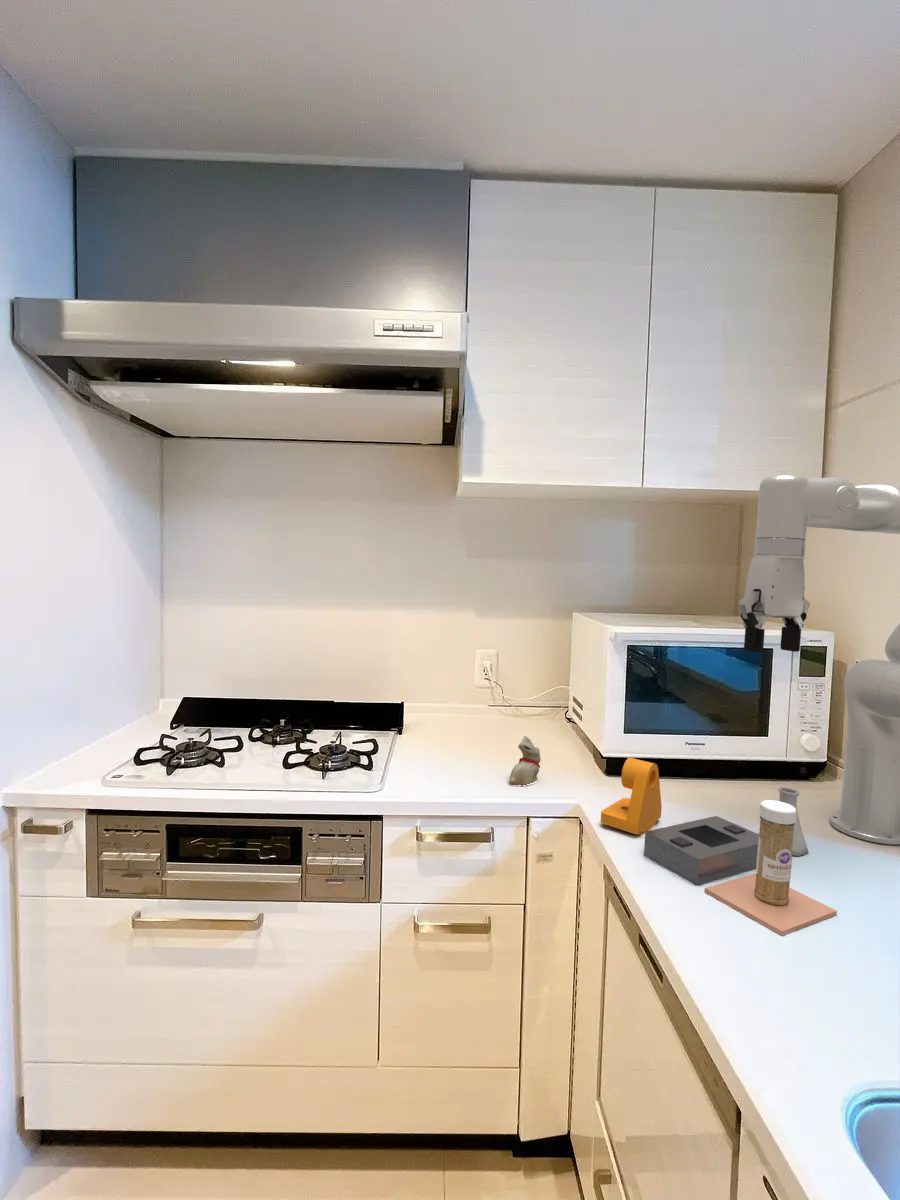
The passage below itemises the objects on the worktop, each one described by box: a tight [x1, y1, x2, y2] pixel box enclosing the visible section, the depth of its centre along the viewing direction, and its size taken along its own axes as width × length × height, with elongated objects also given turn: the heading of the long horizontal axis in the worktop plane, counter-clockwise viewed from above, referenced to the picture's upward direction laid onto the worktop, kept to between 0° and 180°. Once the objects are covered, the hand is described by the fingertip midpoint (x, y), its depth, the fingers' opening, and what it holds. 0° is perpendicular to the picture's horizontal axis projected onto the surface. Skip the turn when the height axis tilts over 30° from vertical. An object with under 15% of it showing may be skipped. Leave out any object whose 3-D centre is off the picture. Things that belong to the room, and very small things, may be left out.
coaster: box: [704, 872, 838, 937], centre depth 91 cm, size 12×12×1 cm
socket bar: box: [643, 815, 759, 886], centre depth 103 cm, size 17×11×4 cm, turn 119°
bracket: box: [600, 757, 663, 835], centre depth 117 cm, size 11×7×12 cm, turn 141°
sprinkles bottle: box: [754, 799, 796, 905], centre depth 91 cm, size 5×5×14 cm
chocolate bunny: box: [509, 735, 542, 786], centre depth 137 cm, size 6×8×10 cm
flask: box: [777, 786, 809, 857], centre depth 110 cm, size 7×7×10 cm
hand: (771, 651), depth 109 cm, fingers open, 9 cm apart
